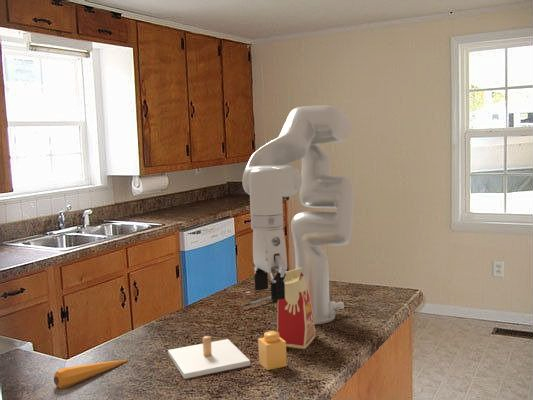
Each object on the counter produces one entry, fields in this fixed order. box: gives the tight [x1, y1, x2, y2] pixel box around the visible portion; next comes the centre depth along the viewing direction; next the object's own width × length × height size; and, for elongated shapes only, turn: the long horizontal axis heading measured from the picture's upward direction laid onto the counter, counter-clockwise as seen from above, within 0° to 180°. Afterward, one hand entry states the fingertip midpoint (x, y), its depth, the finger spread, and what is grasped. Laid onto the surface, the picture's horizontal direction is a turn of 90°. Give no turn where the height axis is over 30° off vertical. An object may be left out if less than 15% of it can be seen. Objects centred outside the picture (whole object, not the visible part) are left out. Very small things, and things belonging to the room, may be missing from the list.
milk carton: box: [274, 267, 316, 350], centre depth 147 cm, size 9×9×20 cm
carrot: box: [53, 359, 130, 389], centre depth 133 cm, size 20×4×4 cm, turn 140°
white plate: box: [167, 335, 251, 380], centre depth 138 cm, size 16×16×6 cm
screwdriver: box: [242, 295, 276, 307], centre depth 185 cm, size 25×3×3 cm, turn 132°
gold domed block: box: [257, 330, 288, 371], centre depth 134 cm, size 5×5×8 cm
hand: (269, 294), depth 132 cm, fingers open, 9 cm apart
